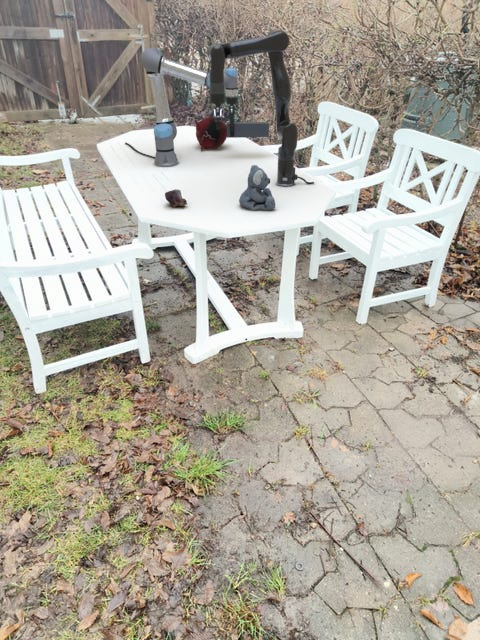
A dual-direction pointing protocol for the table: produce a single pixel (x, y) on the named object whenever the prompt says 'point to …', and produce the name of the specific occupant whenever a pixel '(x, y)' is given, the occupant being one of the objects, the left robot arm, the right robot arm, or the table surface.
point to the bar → (249, 129)
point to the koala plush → (257, 191)
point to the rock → (175, 198)
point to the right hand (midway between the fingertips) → (218, 127)
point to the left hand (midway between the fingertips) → (232, 135)
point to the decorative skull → (210, 133)
